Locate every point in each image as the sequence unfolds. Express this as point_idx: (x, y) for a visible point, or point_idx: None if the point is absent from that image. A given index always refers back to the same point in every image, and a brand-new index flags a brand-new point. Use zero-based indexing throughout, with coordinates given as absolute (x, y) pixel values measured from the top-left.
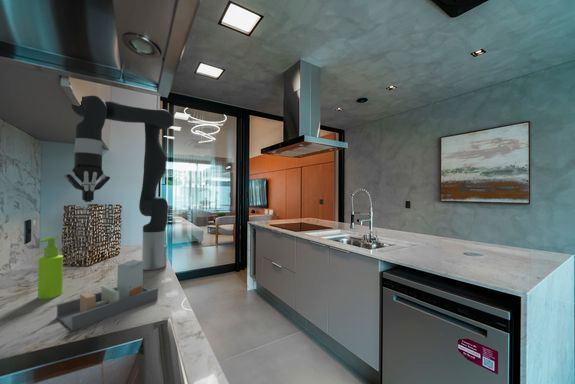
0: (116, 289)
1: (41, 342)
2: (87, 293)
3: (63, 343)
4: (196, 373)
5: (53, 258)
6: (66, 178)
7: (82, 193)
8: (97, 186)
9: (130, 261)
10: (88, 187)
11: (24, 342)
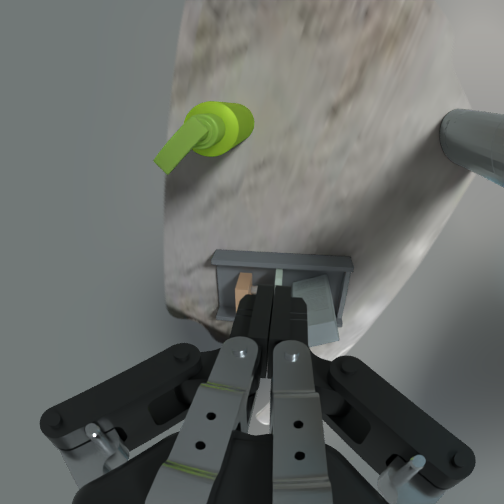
0: (304, 268)
1: (192, 304)
2: (243, 296)
3: (208, 324)
4: (261, 418)
5: (209, 155)
6: (72, 412)
7: (232, 333)
8: (325, 421)
9: (321, 328)
10: (274, 377)
11: (179, 289)
